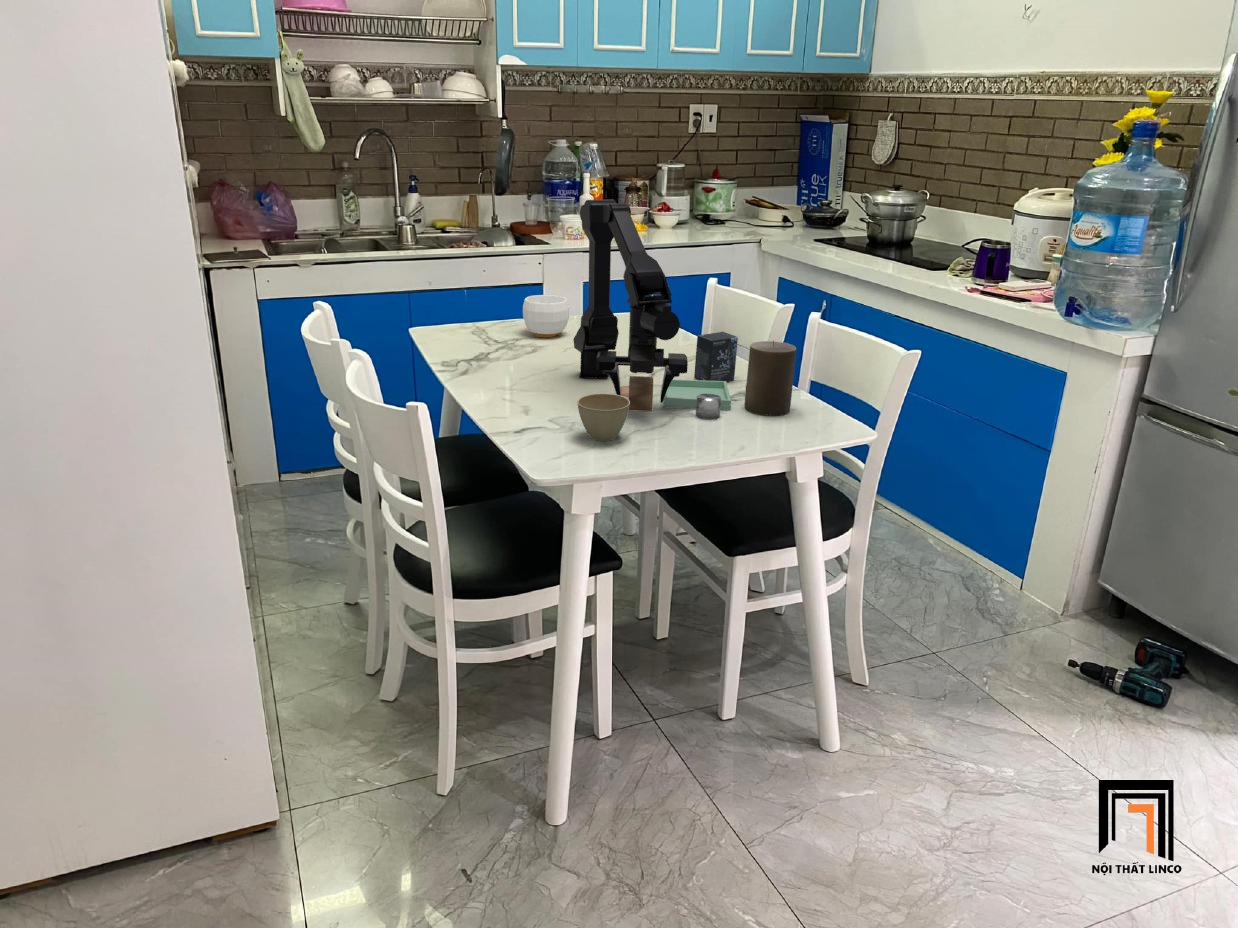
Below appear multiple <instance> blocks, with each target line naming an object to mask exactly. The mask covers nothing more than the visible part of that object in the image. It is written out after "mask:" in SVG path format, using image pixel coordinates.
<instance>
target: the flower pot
mask: <svg viewBox="0 0 1238 928" xmlns="http://www.w3.org/2000/svg"><path fill="white" fill-rule="evenodd" d="M576 403H577V409H578V413H579V416H580V420H581V422H582V425H583V426H584V429H585V431H586V432H587V434H588V436H589V437H590V439H592V440H595V441H600V442H601V441H602V442H606V441H612V440H615V439H616V438H617V437H618V435H619V434H620V432H621V431H622V428H623V427H624V425H625V423H626V421H627V419H628V415H629V411H630V410H629V407H630V401H629V398H628V397H625V396H620V395H617V394H616V393H615V394H614V393H603V392H602V393H599V392H598V393H590V394H587V395H586V394H585V395H583V396H581V397H579V398H578V399H577V402H576Z"/></svg>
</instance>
